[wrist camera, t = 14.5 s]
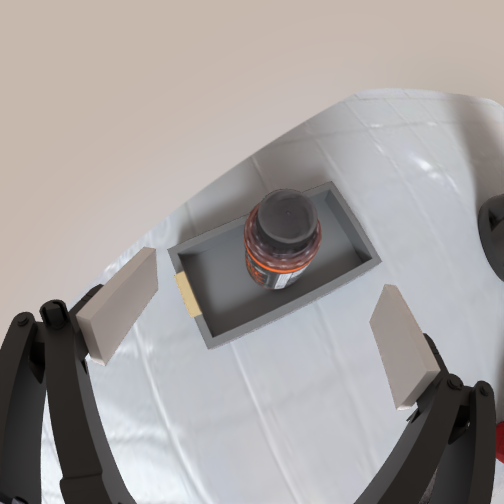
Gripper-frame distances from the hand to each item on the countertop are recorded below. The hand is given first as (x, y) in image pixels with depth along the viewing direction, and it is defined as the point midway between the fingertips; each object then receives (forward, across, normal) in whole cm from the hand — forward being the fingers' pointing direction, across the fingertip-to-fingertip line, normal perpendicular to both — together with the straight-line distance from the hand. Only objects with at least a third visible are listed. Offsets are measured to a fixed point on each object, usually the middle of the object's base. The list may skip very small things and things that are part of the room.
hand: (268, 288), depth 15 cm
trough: (+13, +1, -6) cm, 14 cm away
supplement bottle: (+13, +1, -5) cm, 14 cm away
